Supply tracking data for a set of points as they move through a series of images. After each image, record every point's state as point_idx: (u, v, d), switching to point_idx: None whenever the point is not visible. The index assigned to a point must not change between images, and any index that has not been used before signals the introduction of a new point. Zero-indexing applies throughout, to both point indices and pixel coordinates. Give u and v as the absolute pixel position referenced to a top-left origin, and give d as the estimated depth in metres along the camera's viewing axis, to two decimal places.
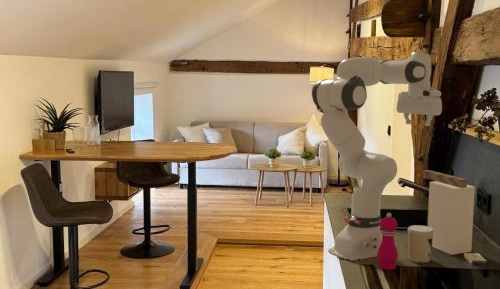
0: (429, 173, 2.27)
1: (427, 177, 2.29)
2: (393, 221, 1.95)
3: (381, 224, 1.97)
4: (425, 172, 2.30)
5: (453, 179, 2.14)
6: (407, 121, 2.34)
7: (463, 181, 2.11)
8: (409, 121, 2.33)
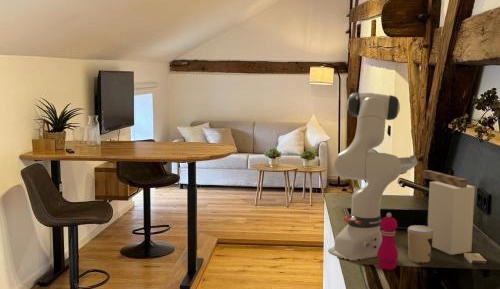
0: (429, 173, 2.27)
1: (427, 177, 2.29)
2: (393, 221, 1.95)
3: (381, 224, 1.97)
4: (425, 172, 2.30)
5: (453, 179, 2.14)
6: None
7: (463, 181, 2.11)
8: None
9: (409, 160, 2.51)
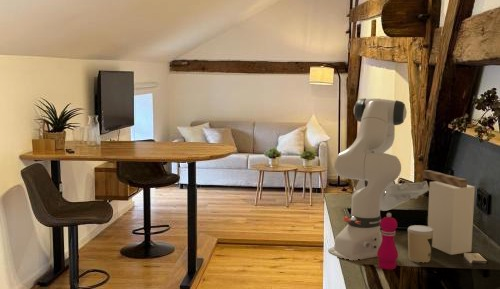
0: (429, 173, 2.27)
1: (427, 177, 2.29)
2: (393, 221, 1.95)
3: (381, 224, 1.97)
4: (425, 172, 2.30)
5: (453, 179, 2.14)
6: None
7: (463, 181, 2.11)
8: None
9: (420, 186, 2.43)
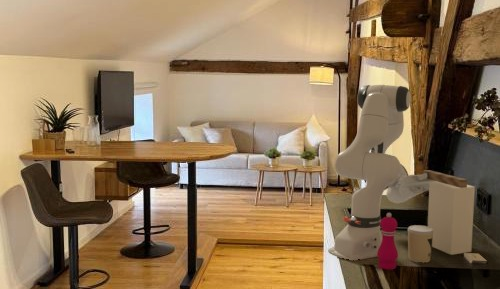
0: (429, 173, 2.27)
1: None
2: (393, 221, 1.95)
3: (381, 224, 1.97)
4: (425, 172, 2.30)
5: (453, 179, 2.14)
6: None
7: (463, 181, 2.11)
8: None
9: None
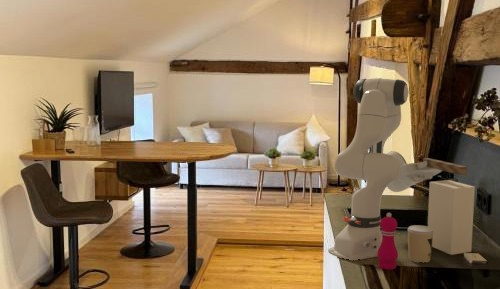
0: (429, 161, 2.27)
1: None
2: (393, 221, 1.95)
3: (381, 224, 1.97)
4: (425, 160, 2.29)
5: (453, 166, 2.14)
6: None
7: (463, 168, 2.11)
8: None
9: None
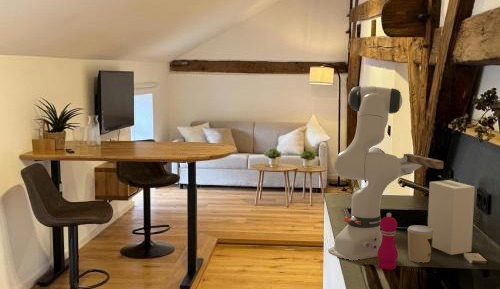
0: (409, 156, 2.39)
1: None
2: (393, 221, 1.95)
3: (381, 224, 1.97)
4: (405, 155, 2.42)
5: (430, 161, 2.26)
6: None
7: (439, 163, 2.23)
8: None
9: None
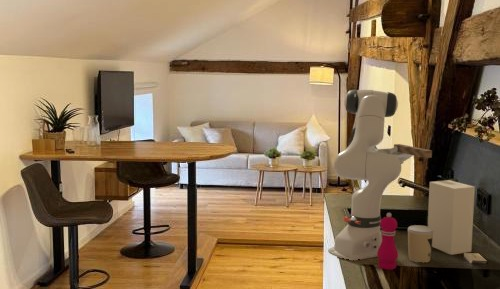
0: (399, 146, 2.46)
1: None
2: (393, 221, 1.95)
3: (381, 224, 1.97)
4: (395, 145, 2.48)
5: (419, 150, 2.33)
6: None
7: (428, 152, 2.30)
8: None
9: None
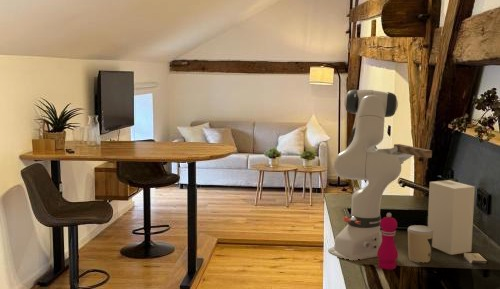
0: (399, 146, 2.46)
1: None
2: (393, 221, 1.95)
3: (381, 224, 1.97)
4: (395, 145, 2.48)
5: (419, 150, 2.33)
6: None
7: (428, 152, 2.30)
8: None
9: None
